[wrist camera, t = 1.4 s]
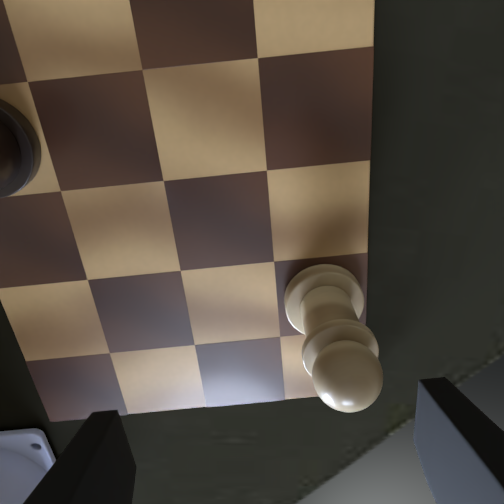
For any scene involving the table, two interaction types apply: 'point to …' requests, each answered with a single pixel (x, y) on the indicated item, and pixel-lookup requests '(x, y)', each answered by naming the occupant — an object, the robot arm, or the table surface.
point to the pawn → (335, 336)
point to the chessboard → (180, 193)
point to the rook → (17, 150)
